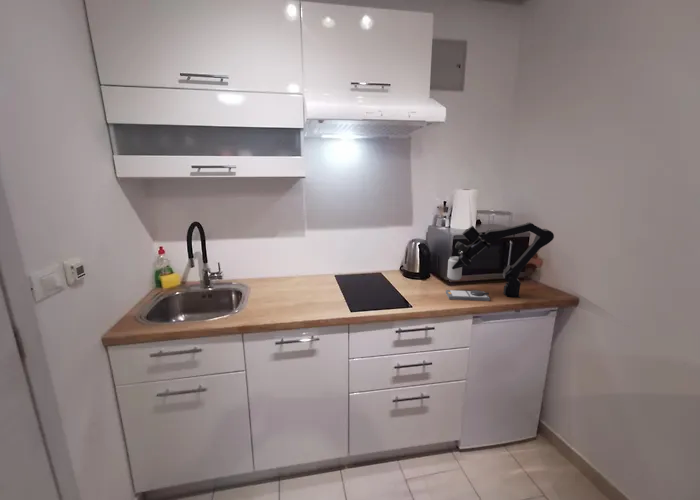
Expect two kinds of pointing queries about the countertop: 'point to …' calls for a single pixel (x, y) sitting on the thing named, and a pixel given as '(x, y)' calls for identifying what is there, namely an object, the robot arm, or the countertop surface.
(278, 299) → the countertop surface
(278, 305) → the countertop surface
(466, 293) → the grey flat device
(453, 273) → the can
